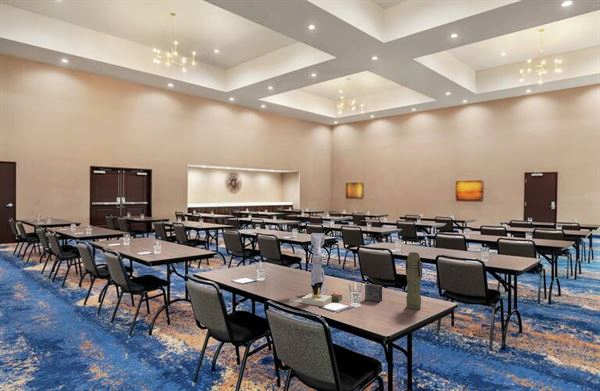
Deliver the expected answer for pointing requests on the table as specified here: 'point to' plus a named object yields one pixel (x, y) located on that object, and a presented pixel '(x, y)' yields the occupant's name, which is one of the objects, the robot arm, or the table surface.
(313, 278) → the robot arm
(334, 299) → the button console
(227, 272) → the table surface
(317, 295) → the billet
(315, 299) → the block
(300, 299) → the billet mat
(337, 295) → the button cap
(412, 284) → the thermos
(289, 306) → the table surface
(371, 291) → the small box
